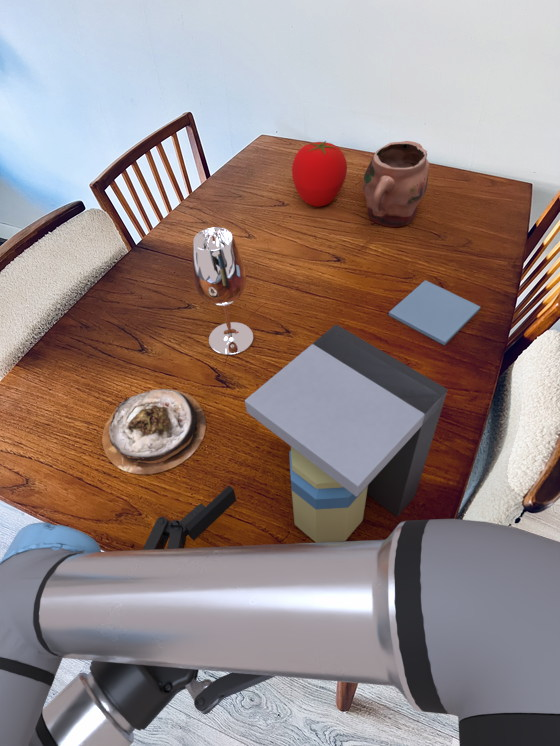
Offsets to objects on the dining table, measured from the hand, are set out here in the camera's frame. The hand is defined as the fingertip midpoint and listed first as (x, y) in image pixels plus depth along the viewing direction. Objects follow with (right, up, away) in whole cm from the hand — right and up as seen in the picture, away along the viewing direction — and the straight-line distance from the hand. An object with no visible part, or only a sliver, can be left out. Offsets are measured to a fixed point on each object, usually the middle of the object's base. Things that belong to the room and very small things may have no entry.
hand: (276, 531), depth 56 cm
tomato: (+9, +54, +57) cm, 79 cm away
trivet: (+27, +27, +33) cm, 50 cm away
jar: (+6, -1, +11) cm, 12 cm away
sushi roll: (-18, +9, +20) cm, 28 cm away
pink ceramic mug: (+23, +48, +51) cm, 74 cm away
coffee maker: (+8, +1, +11) cm, 14 cm away
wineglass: (-8, +23, +32) cm, 40 cm away
